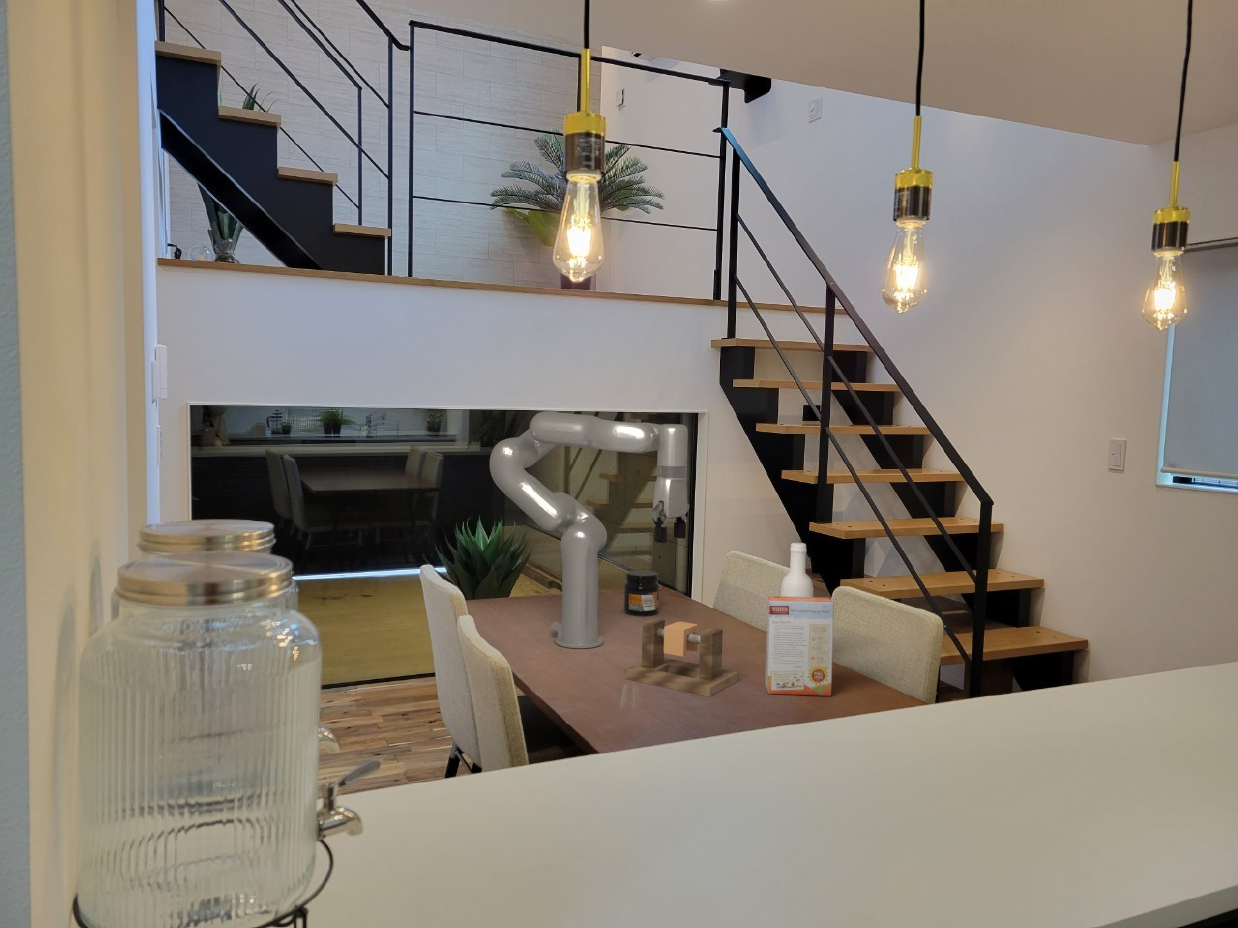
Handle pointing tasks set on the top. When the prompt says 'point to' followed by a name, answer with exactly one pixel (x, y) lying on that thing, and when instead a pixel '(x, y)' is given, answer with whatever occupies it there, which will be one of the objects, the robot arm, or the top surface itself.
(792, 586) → the bottle
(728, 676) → the tan frame
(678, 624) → the notched block
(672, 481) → the robot arm
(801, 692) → the cracker box
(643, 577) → the supplement container
